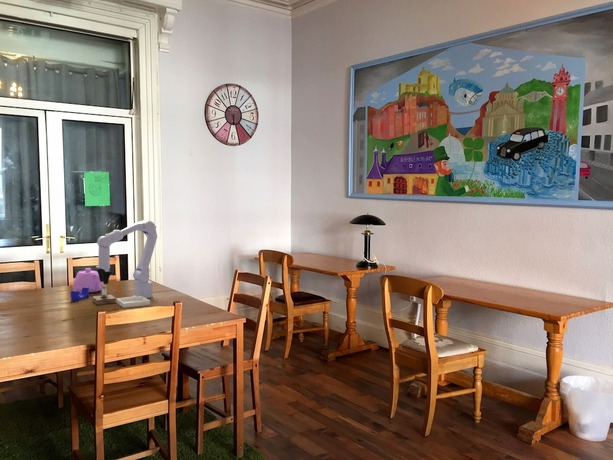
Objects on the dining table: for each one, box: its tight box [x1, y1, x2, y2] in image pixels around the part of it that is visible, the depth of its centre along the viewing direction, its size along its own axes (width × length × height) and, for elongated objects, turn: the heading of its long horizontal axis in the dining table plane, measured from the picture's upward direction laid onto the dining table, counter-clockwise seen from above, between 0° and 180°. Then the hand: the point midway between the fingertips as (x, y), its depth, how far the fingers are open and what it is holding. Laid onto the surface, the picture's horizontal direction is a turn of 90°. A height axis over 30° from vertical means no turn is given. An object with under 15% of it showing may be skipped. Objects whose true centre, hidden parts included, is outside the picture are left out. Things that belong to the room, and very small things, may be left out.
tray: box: [116, 296, 151, 309], centre depth 290 cm, size 14×14×2 cm
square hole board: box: [92, 294, 117, 306], centre depth 294 cm, size 10×10×2 cm
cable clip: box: [70, 287, 90, 302], centre depth 300 cm, size 12×4×6 cm, turn 169°
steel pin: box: [101, 284, 108, 298], centre depth 294 cm, size 3×3×9 cm
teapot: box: [72, 267, 105, 293], centre depth 323 cm, size 22×22×14 cm
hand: (104, 282), depth 294 cm, fingers open, 7 cm apart
